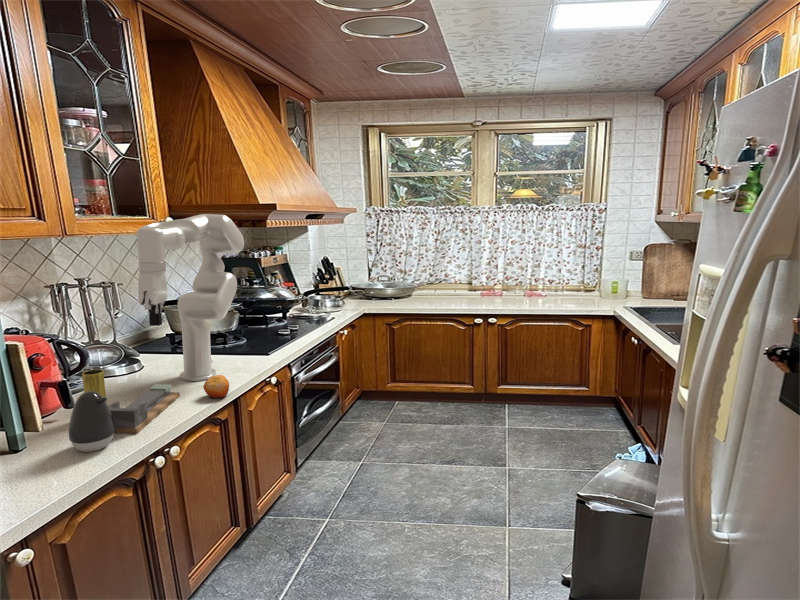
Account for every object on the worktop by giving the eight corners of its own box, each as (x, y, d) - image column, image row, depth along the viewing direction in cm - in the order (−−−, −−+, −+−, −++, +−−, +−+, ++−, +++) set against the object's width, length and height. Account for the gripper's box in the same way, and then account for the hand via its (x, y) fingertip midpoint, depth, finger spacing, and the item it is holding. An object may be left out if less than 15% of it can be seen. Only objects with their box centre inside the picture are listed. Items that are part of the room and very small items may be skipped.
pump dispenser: (93, 459, 121) (87, 401, 118) (60, 453, 123) (54, 396, 121) (126, 441, 130) (122, 387, 128) (95, 436, 133) (90, 382, 130)
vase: (81, 423, 141) (77, 375, 138) (88, 414, 146) (84, 369, 144) (105, 421, 142) (101, 374, 140) (111, 412, 148) (107, 367, 146)
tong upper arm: (154, 388, 161) (154, 384, 161) (172, 389, 161) (172, 384, 161) (115, 417, 138) (115, 412, 138) (136, 417, 139) (136, 412, 138)
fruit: (234, 386, 169) (230, 371, 164) (228, 404, 163) (224, 389, 158) (210, 385, 169) (205, 370, 164) (204, 404, 163) (198, 389, 158)
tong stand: (149, 396, 162) (148, 377, 161) (179, 396, 162) (178, 378, 161) (100, 433, 135) (98, 411, 134) (137, 433, 135) (135, 411, 134)
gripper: (151, 264, 159) (155, 319, 162) (127, 270, 144) (131, 330, 148) (175, 265, 159) (177, 320, 162) (153, 270, 145) (156, 330, 148)
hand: (156, 324), depth 155 cm, fingers closed
